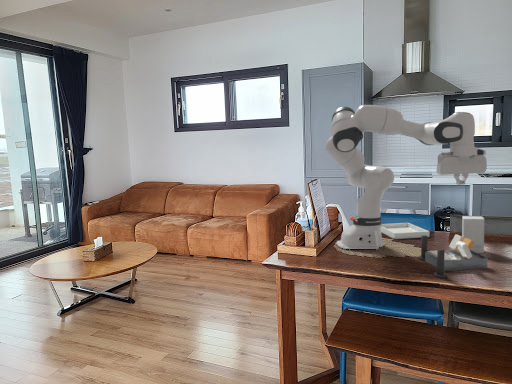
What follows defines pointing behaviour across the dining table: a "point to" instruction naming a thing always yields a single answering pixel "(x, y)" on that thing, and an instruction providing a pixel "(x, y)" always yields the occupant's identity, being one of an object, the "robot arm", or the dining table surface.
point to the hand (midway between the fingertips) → (460, 184)
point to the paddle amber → (468, 243)
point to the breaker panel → (458, 260)
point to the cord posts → (440, 257)
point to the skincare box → (474, 231)
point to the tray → (403, 230)
